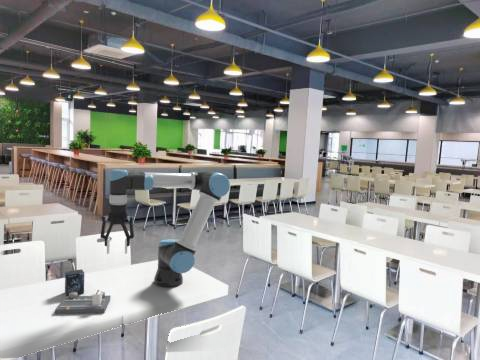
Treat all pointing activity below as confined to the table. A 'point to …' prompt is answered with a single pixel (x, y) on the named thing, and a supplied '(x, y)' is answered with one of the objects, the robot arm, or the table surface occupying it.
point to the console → (81, 304)
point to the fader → (97, 297)
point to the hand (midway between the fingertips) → (117, 252)
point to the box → (74, 282)
